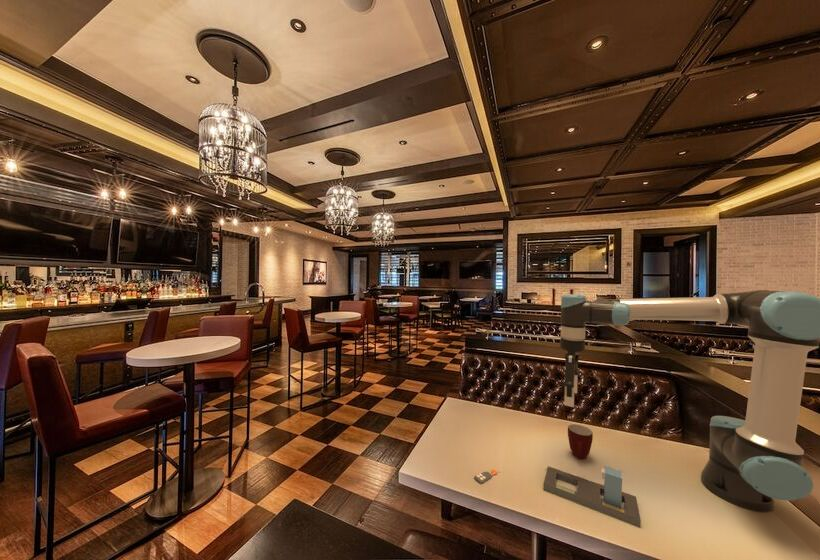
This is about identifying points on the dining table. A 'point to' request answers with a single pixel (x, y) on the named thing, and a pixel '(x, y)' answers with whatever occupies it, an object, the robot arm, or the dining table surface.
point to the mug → (580, 440)
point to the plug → (612, 486)
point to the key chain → (485, 476)
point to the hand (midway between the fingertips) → (571, 398)
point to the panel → (591, 496)
